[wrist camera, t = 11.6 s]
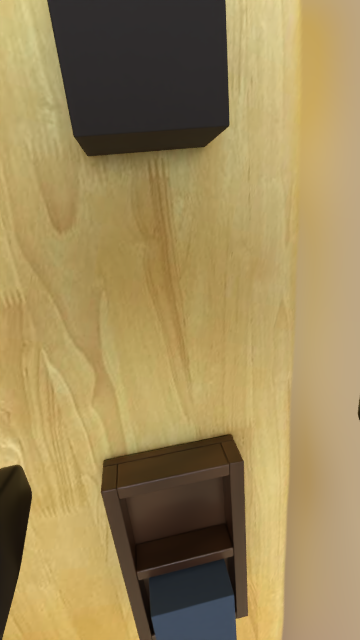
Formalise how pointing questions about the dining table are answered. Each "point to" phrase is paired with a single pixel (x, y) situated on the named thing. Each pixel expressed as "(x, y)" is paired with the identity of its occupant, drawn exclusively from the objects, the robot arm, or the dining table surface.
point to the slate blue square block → (193, 603)
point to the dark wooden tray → (177, 517)
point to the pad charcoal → (143, 72)
